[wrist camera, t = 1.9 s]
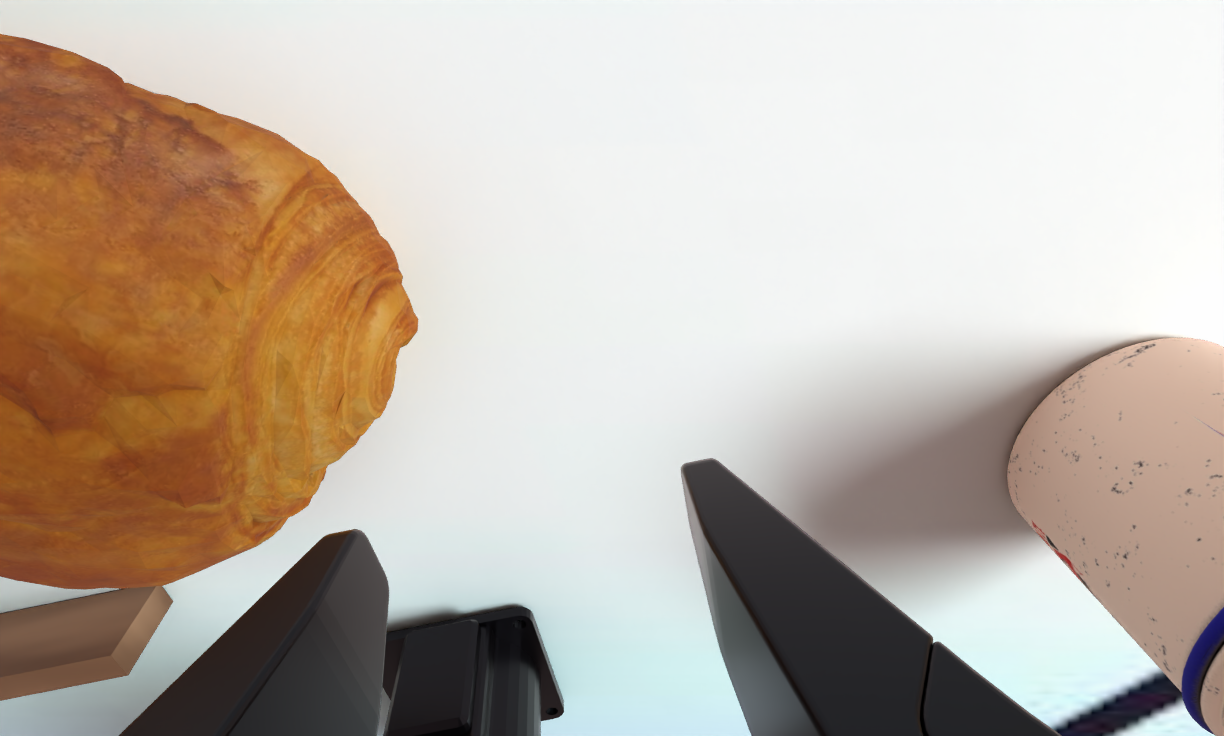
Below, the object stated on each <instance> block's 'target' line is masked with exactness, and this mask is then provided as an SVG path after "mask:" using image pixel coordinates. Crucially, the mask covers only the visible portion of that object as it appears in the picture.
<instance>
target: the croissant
mask: <svg viewBox="0 0 1224 736" xmlns="http://www.w3.org/2000/svg"><path fill="white" fill-rule="evenodd" d="M402 278H403V276H402V274H401V272H400V271H399V269H398V263H397V260H396V257H395V254H394V252H393V250H392V249H391V247H390V245H389V243H388V242H387V241H386V240H385V239H384V238H383V237H381V236H380V234H379V232H378V230H377V228H376V226H375V224H374V222H373V220H372V219H371V217H370V216H369V215H368V214H367V213H366V212H365V211H364V210H363V209H362V208H361V207H360V206H359V205H358V203H357V202H356V200H355V199H354V198H353V197H352V196H351V195H350V194H349V193H348V192H347V191H346V189H345V188H344V186H343V185H342V184H341V182H340V181H339V179H338V178H337V177H336V176H335V175H334V174H332V173H331V172H330V171H328V170H327V169H326V167H325V166H324V165H323V164H322V163H321V162H320V161H319V160H317V159H315V158H313V157H311V156H309V155H307V154H305V153H304V152H303V151H301V150H300V149H298V148H297V147H295V146H294V145H293V144H291V143H290V142H288V141H287V140H285V139H284V138H283V137H281V136H280V135H278V134H276V133H274V132H271V131H269V130H266V129H264V128H261V127H259V126H256V125H253V124H251V123H248V122H246V121H243V120H241V119H238V118H234V117H231V116H227V115H223V114H219V113H217V112H215V111H213V110H210V109H208V108H206V107H203V106H201V105H199V104H196V103H186V102H184V101H182V100H179V99H177V98H174V97H171V96H168V95H161V94H154V93H152V92H149V91H147V90H144V89H142V88H139V87H137V86H134V85H132V84H129V83H124V81H123V80H122V78H121V77H119V76H118V75H117V74H115V73H114V72H113V71H112V70H110V69H109V68H107V67H105V66H103V65H101V64H98V63H96V62H94V61H92V60H89V59H87V58H85V57H82V56H80V55H78V54H76V53H73V52H70V51H67V50H63V49H60V48H56V47H53V46H50V45H46V44H43V43H39V42H36V41H32V40H29V39H25V38H19V37H14V36H8V35H2V34H0V576H1V577H5V578H9V579H13V580H17V581H24V582H30V583H36V584H41V585H47V586H53V587H59V588H66V589H95V588H120V589H124V588H138V587H152V586H163V585H166V584H169V583H172V582H175V581H177V580H179V579H182V578H184V577H187V576H189V575H192V574H194V573H196V572H199V571H201V570H203V569H206V568H208V567H210V566H212V565H215V564H217V563H219V562H221V561H224V560H226V559H228V558H230V557H233V556H235V555H237V554H240V553H242V552H244V551H247V550H249V549H251V548H254V547H256V546H258V545H259V544H261V543H262V542H264V541H266V540H267V539H269V538H270V537H272V536H273V535H274V534H275V533H276V532H277V531H278V530H280V529H281V527H282V526H283V525H284V523H285V522H286V520H287V519H288V518H289V517H290V516H293V515H295V514H297V513H298V512H300V511H301V510H303V509H304V508H305V507H307V506H308V505H309V503H310V500H311V498H312V496H313V495H314V494H315V493H316V491H317V490H318V488H319V485H320V483H321V481H322V480H323V479H324V476H325V473H326V468H327V466H328V465H329V464H331V463H333V462H335V461H337V460H339V459H340V458H341V457H342V456H343V455H344V454H345V453H346V452H347V451H348V450H349V449H350V448H352V447H353V446H354V445H356V443H357V441H358V440H359V438H360V436H362V435H363V434H364V433H365V432H366V431H367V429H368V428H369V427H370V425H371V424H372V423H373V420H375V419H377V418H379V417H380V416H381V415H382V413H383V411H384V410H385V408H386V405H387V402H388V400H389V398H390V397H391V393H392V391H393V387H394V381H395V374H396V367H397V366H396V358H397V355H398V352H399V349H400V348H401V347H403V346H405V345H407V344H408V343H409V341H410V340H411V339H412V338H413V336H414V335H415V333H416V332H417V329H418V318H417V317H416V315H415V313H414V312H413V309H412V306H411V303H410V300H409V298H408V296H407V294H406V292H405V290H404V288H403V286H402V284H401V283H402Z"/></svg>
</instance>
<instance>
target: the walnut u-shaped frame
mask: <svg viewBox="0 0 1224 736" xmlns="http://www.w3.org/2000/svg"><path fill="white" fill-rule="evenodd" d="M172 603H173V600H172V599H171V598H170V596H169V595H168V594H167V592H166V591H165V590H164V588H163V587H162V586H152V587H138V588H127V589H122V590H117V591H112V592H107V593H102V594H97V595H92V596H87V597H82V598H77V599H72V600H67V601H62V602H57V603H52V604H47V605H42V606H37V607H32V608H27V609H22V610H17V611H12V612H7V613H2V614H0V701H1V700H6V699H11V698H16V697H21V696H26V695H31V694H36V693H42V692H47V691H52V690H57V689H62V688H67V687H72V686H77V685H82V684H87V683H92V682H97V681H102V680H107V679H112V678H117V677H122V676H127V675H129V673H130V671H131V670H132V668H133V666H134V665H135V663H136V662H137V660H138V658H139V657H140V655H141V653H142V652H143V650H144V648H145V647H146V645H147V643H148V642H149V640H150V639H151V637H152V635H153V634H154V632H155V630H156V629H157V627H158V625H159V624H160V622H161V621H162V619H163V617H164V616H165V614H166V612H167V611H168V609H169V607H170V606H171V604H172Z"/></svg>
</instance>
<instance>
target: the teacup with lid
mask: <svg viewBox="0 0 1224 736" xmlns="http://www.w3.org/2000/svg"><path fill="white" fill-rule="evenodd" d="M1007 481H1008V488H1009V493H1010V496H1011V499H1012V502H1013V504H1014V506H1015V508H1016V509H1017V511H1018V512H1019V513H1020V515H1021V516H1022V517H1023V518H1024V519H1025V521H1026V522H1027V523H1028V524H1029V525H1030V526H1031V527H1032V528H1033V529H1034V530H1035V532H1036V533H1037V534H1038V535H1039V536H1040V537H1041V538H1042V539H1043V540H1044V541H1045V543H1046V544H1047V545H1048V546H1049V547H1050V548H1051V549H1052V550H1053V551H1054V552H1055V554H1056V555H1057V556H1058V557H1059V558H1060V559H1061V560H1062V561H1063V562H1064V563H1065V565H1066V566H1067V567H1068V568H1069V569H1070V570H1071V571H1072V572H1073V573H1074V574H1075V575H1076V577H1077V578H1078V579H1079V580H1080V581H1081V582H1082V583H1083V584H1084V585H1085V586H1086V588H1087V589H1088V590H1089V591H1090V592H1091V593H1092V594H1093V595H1094V596H1095V597H1096V599H1097V600H1098V601H1099V602H1100V603H1101V604H1102V605H1103V606H1104V607H1105V608H1106V610H1107V611H1108V612H1109V613H1110V614H1111V615H1112V616H1113V617H1114V618H1115V619H1116V621H1117V622H1118V623H1119V624H1120V625H1121V626H1122V627H1123V628H1124V629H1125V630H1126V632H1127V633H1128V634H1129V635H1130V636H1131V637H1132V638H1133V639H1134V640H1135V641H1136V643H1137V644H1138V645H1139V646H1140V647H1141V648H1142V649H1143V650H1144V651H1145V652H1146V653H1147V655H1148V656H1149V657H1150V658H1151V659H1152V660H1153V661H1154V662H1155V663H1156V664H1157V666H1158V667H1159V668H1160V669H1161V670H1162V671H1163V672H1164V673H1165V674H1166V675H1167V677H1168V678H1169V679H1170V680H1171V681H1172V682H1173V683H1174V684H1175V685H1176V686H1177V688H1178V689H1179V690H1180V691H1181V692H1182V697H1183V701H1184V704H1185V706H1186V709H1187V710H1188V712H1189V713H1190V715H1191V716H1192V718H1193V719H1194V720H1195V721H1196V722H1197V723H1198V724H1199V725H1200V726H1201V727H1202V728H1204V729H1205V730H1207V731H1208V732H1210V733H1212V734H1214V735H1216V736H1224V347H1223V346H1220V345H1218V344H1215V343H1212V342H1209V341H1205V340H1200V339H1193V338H1164V339H1157V340H1151V341H1147V342H1142V343H1138V344H1135V345H1131V346H1128V347H1125V348H1122V349H1120V350H1117V351H1114V352H1112V353H1110V354H1108V355H1106V356H1103V357H1101V358H1099V359H1097V360H1096V361H1094V362H1092V363H1090V364H1088V365H1087V366H1085V367H1084V368H1082V369H1080V370H1079V371H1077V372H1076V373H1074V374H1073V375H1072V376H1070V377H1069V378H1068V379H1066V380H1065V381H1064V382H1062V383H1061V384H1060V385H1059V386H1058V387H1056V388H1055V389H1054V390H1053V391H1052V392H1051V393H1050V394H1049V395H1048V396H1047V397H1046V398H1045V399H1044V400H1043V401H1042V402H1041V403H1040V404H1039V406H1038V407H1037V408H1036V409H1035V410H1034V412H1033V413H1032V414H1031V415H1030V417H1029V418H1028V420H1027V421H1026V423H1025V424H1024V426H1023V428H1022V429H1021V431H1020V433H1019V435H1018V437H1017V439H1016V441H1015V443H1014V446H1013V449H1012V452H1011V455H1010V460H1009V464H1008V472H1007Z"/></svg>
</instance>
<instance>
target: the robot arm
mask: <svg viewBox="0 0 1224 736" xmlns="http://www.w3.org/2000/svg"><path fill="white" fill-rule="evenodd" d="M681 476H682V482H683V489H684V495H685V501H686V507H687V513H688V519H689V524H690V529H691V533H692V537H693V542H694V546H695V550H696V554H697V558H698V562H699V566H700V571H701V575H702V579H703V583H704V587H705V591H706V595H707V600H708V604H709V608H710V612H711V616H712V620H713V625H714V629H715V633H716V636H717V640H718V643H719V647H720V651H721V654H722V657H723V660H724V662H725V665H726V668H727V671H728V674H729V677H730V679H731V682H732V685H733V687H734V690H735V693H736V695H737V698H738V701H739V703H740V706H741V709H742V711H743V714H744V717H745V719H746V722H747V725H748V727H749V730H750V733H751V735H752V736H1061V735H1060V734H1058V733H1057V732H1056V731H1054V730H1053V729H1051V728H1050V727H1049V726H1047V725H1046V724H1044V723H1043V722H1042V721H1040V720H1039V719H1037V718H1036V717H1035V716H1033V715H1032V714H1030V713H1029V712H1028V711H1026V710H1025V709H1024V708H1022V707H1021V706H1020V705H1019V704H1017V703H1016V702H1015V701H1013V700H1012V699H1011V698H1010V697H1008V696H1007V695H1006V694H1004V693H1003V692H1002V691H1001V690H999V689H998V688H997V687H995V686H994V685H993V684H992V683H990V682H989V681H988V680H986V679H985V678H984V677H983V676H981V675H980V674H979V673H977V672H976V671H975V670H974V669H972V668H971V667H970V666H969V665H967V664H966V663H965V662H964V661H963V660H961V659H960V658H959V657H958V656H956V655H955V654H954V653H953V652H952V651H950V650H949V649H948V648H947V647H946V646H944V645H943V644H942V643H941V642H934V643H933V637H932V636H931V635H930V634H929V633H928V632H927V631H925V630H924V629H923V628H922V627H921V626H919V625H918V624H917V623H916V622H914V621H913V620H912V619H911V618H910V617H908V616H907V615H906V614H905V613H903V612H902V611H901V610H900V609H899V608H897V607H896V606H895V605H894V604H892V603H891V602H890V601H889V600H888V599H886V598H885V597H884V596H883V595H881V594H880V593H879V592H878V591H877V590H875V589H874V588H873V587H872V586H870V585H869V584H868V583H867V582H865V581H864V580H863V579H862V578H861V577H859V576H858V575H857V574H856V573H854V572H853V571H852V570H851V569H850V568H848V567H847V566H846V565H845V564H843V563H842V562H841V561H840V560H839V559H837V558H836V557H835V556H834V555H832V554H831V553H830V552H829V551H828V550H826V549H825V548H824V547H823V546H821V545H820V544H819V543H818V542H817V541H815V540H814V539H813V538H812V537H810V536H809V535H808V534H807V533H805V532H804V531H803V530H802V529H801V528H799V527H798V526H797V525H796V524H794V523H793V522H792V521H791V520H790V519H788V518H787V517H786V516H785V515H783V514H782V513H781V512H780V511H779V510H777V509H776V508H775V507H774V506H772V505H771V504H770V503H769V502H768V501H766V500H765V499H764V498H763V497H761V496H760V495H759V494H758V493H757V492H755V491H754V490H753V489H752V488H750V487H749V486H748V485H747V484H746V483H744V482H743V481H742V480H741V479H739V478H738V477H737V476H736V475H734V474H733V473H732V472H731V471H730V470H728V469H727V468H726V467H725V466H723V465H722V464H721V463H720V462H719V461H717V460H715V459H713V458H709V459H704V460H699V461H694V462H689V463H685V464H683V465H682V467H681ZM388 604H389V586H388V581H387V577H386V575H385V572H384V570H383V568H382V566H381V564H380V562H379V560H378V558H377V556H376V554H375V552H374V550H373V548H372V546H371V544H370V542H369V540H368V538H367V537H366V535H365V534H364V533H363V532H362V531H360V530H357V529H353V530H348V531H343V532H338V533H333V534H329V535H326V536H324V537H323V538H322V539H321V540H320V541H319V542H318V543H316V544H315V545H314V546H313V547H312V548H311V549H310V550H309V551H308V552H307V553H306V554H305V555H304V556H303V557H302V558H301V559H300V560H299V561H298V562H297V563H296V564H295V565H294V566H293V567H292V568H291V569H290V570H289V571H288V572H287V573H286V574H285V575H284V576H283V577H282V578H280V579H279V580H278V581H277V582H276V583H275V584H274V585H273V586H272V587H271V588H270V589H269V590H268V591H267V592H266V593H265V594H264V595H263V596H262V597H261V598H260V599H259V600H258V601H257V602H256V603H255V604H254V605H253V606H252V607H251V608H250V609H249V610H248V611H247V612H246V613H244V614H243V615H242V616H241V617H240V618H239V619H238V620H237V621H236V622H235V623H234V624H233V625H232V626H231V627H230V628H229V629H228V630H227V631H226V632H225V633H224V634H223V635H222V636H221V637H220V638H219V639H218V640H217V641H216V642H215V643H214V644H213V645H212V646H211V647H210V648H208V649H207V650H206V651H205V652H204V653H203V654H202V655H201V656H200V657H199V658H198V659H197V660H196V661H195V662H194V663H193V664H192V665H191V666H190V667H189V668H188V669H187V670H186V671H185V672H184V673H183V674H182V675H181V676H180V677H179V678H178V679H177V680H176V681H175V682H173V683H172V684H171V685H170V686H169V687H168V688H167V689H166V690H165V691H164V692H163V693H162V694H161V695H160V696H159V697H158V698H157V699H156V700H155V701H154V702H153V703H152V704H151V705H150V706H149V707H148V708H147V709H146V710H145V711H144V712H143V713H142V714H141V715H140V716H138V717H137V718H136V719H135V720H134V721H133V722H132V723H131V724H130V725H129V726H128V727H127V728H126V729H125V730H124V731H123V732H122V733H121V734H120V735H119V736H377V729H378V723H379V716H380V707H381V697H382V686H383V688H384V690H385V691H386V693H387V695H388V697H389V698H390V700H391V703H390V707H389V712H388V716H387V721H386V726H385V730H384V735H383V736H541V721H544V720H549V719H554V718H558V717H560V716H561V715H562V714H563V712H564V701H563V698H562V695H561V692H560V689H559V686H558V683H557V681H556V678H555V675H554V672H553V669H552V667H551V664H550V661H549V658H548V655H547V652H546V650H545V647H544V644H543V641H542V638H541V635H540V633H539V630H538V627H537V624H536V621H535V619H534V616H533V613H532V612H531V610H529V609H527V608H524V607H516V608H511V609H506V610H501V611H496V612H491V613H485V614H480V615H475V616H470V617H465V618H460V619H455V620H450V621H445V622H440V623H435V624H430V625H425V626H420V627H415V628H410V629H405V630H399V631H394V632H389V633H386V631H387V617H388ZM518 620H522V621H518Z"/></svg>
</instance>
